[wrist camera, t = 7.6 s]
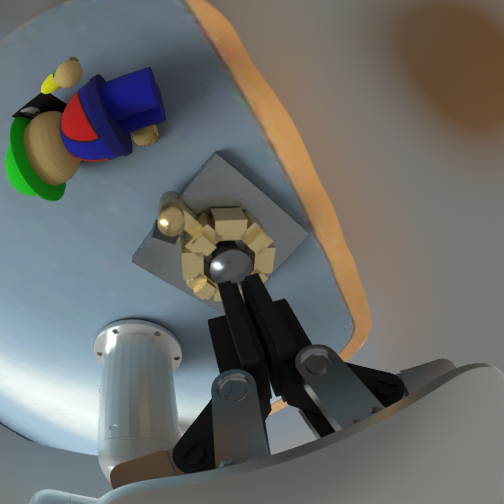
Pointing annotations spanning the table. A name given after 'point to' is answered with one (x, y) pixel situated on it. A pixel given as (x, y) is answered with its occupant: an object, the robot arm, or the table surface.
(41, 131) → the toy
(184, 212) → the ring nut
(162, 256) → the base plate
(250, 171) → the table surface
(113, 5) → the table surface
